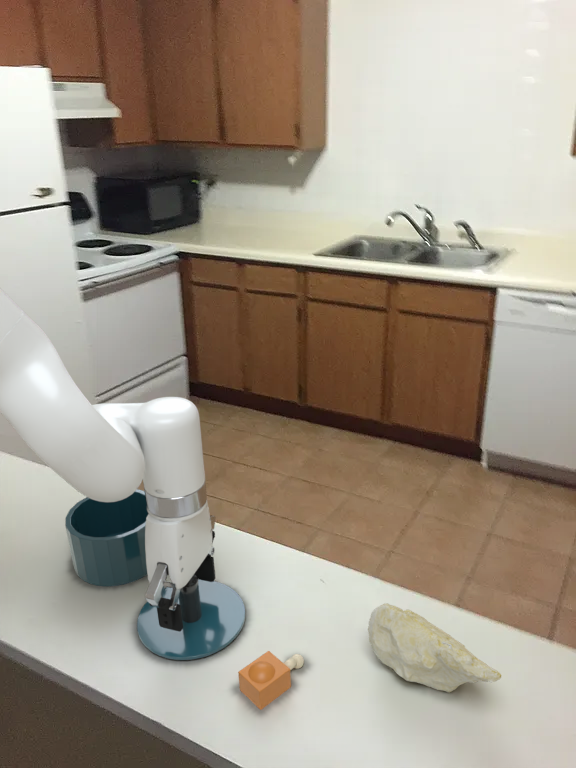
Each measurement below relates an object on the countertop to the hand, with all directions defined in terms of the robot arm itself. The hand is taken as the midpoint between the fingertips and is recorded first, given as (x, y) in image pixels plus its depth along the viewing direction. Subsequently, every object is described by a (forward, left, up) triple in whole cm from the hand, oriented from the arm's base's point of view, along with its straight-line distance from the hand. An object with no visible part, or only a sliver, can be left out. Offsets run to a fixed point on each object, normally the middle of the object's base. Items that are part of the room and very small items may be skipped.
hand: (188, 602), depth 90 cm
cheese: (+1, -33, -4) cm, 33 cm away
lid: (0, 0, -3) cm, 3 cm away
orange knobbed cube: (-6, -15, -3) cm, 16 cm away
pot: (+9, +17, -3) cm, 19 cm away
